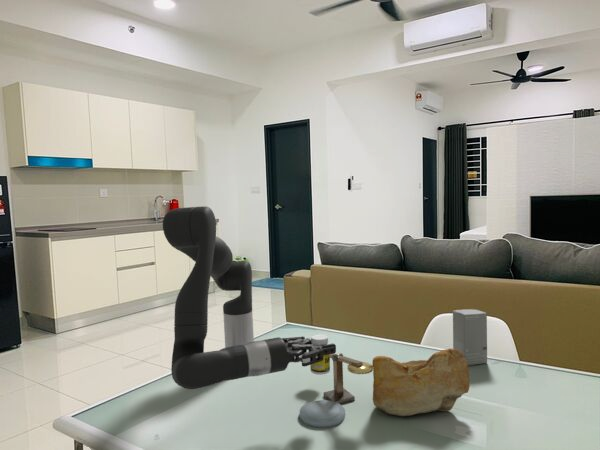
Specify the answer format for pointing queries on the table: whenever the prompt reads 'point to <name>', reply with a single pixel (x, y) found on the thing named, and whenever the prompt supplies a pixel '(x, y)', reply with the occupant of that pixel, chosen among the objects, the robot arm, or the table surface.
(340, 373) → the balance
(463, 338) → the skincare box
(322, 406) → the dish
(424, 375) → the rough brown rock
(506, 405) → the table surface
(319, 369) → the supplement bottle
